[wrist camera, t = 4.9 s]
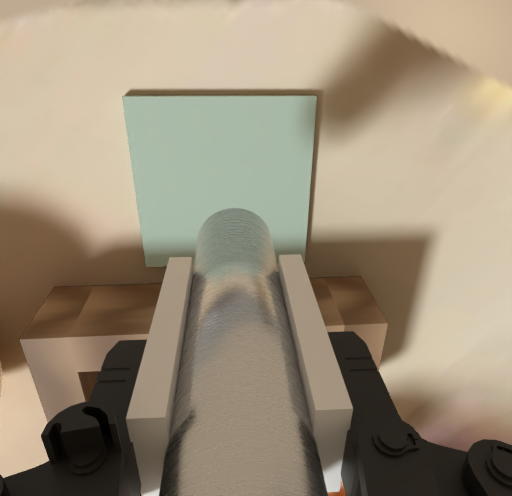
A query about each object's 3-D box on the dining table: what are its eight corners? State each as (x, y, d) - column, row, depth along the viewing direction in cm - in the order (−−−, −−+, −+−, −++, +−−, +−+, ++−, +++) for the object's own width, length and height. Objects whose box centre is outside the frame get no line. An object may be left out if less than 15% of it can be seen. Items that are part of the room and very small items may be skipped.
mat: (315, 95, 21) (317, 96, 21) (303, 258, 26) (304, 261, 26) (123, 95, 21) (122, 96, 20) (146, 264, 25) (145, 267, 25)
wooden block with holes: (360, 276, 27) (388, 323, 23) (344, 384, 32) (364, 440, 27) (54, 287, 26) (19, 339, 21) (84, 398, 30) (60, 460, 26)
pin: (272, 207, 17) (349, 499, 6) (270, 273, 18) (330, 600, 8) (195, 208, 17) (137, 511, 6) (199, 274, 18) (159, 612, 7)
